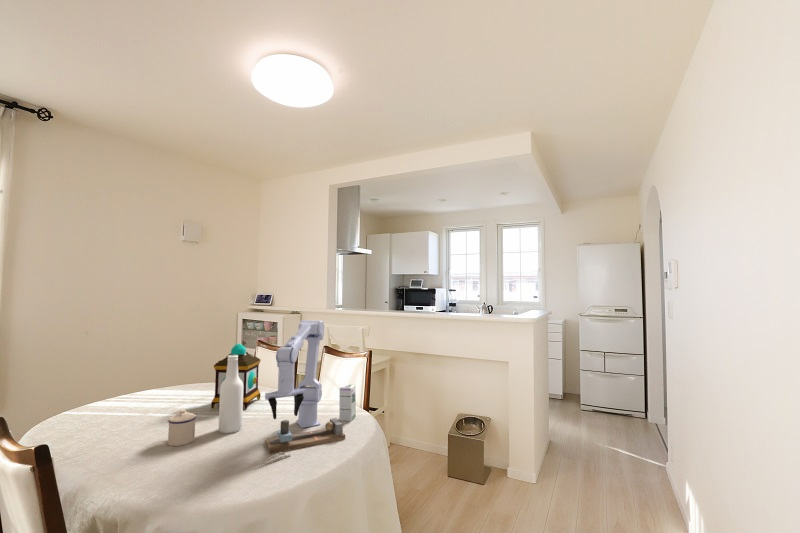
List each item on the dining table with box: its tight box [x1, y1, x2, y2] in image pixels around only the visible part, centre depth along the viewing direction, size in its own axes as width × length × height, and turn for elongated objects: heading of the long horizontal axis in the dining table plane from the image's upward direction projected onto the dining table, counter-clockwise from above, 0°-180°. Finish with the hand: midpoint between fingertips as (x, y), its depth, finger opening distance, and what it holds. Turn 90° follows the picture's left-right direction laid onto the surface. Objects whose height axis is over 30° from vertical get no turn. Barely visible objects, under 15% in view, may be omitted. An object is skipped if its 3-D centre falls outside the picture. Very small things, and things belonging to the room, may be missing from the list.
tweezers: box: [254, 451, 291, 470], centre depth 124 cm, size 18×5×2 cm, turn 147°
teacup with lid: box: [167, 409, 197, 447], centre depth 143 cm, size 12×9×12 cm
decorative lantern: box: [210, 343, 261, 411], centre depth 189 cm, size 20×20×30 cm
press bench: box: [264, 417, 346, 455], centre depth 143 cm, size 10×28×6 cm, turn 119°
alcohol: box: [218, 355, 244, 435], centre depth 155 cm, size 9×9×30 cm
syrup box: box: [338, 384, 357, 422], centre depth 168 cm, size 6×6×14 cm
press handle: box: [276, 419, 293, 443], centre depth 139 cm, size 7×4×6 cm, turn 29°
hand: (285, 416), depth 140 cm, fingers open, 7 cm apart
